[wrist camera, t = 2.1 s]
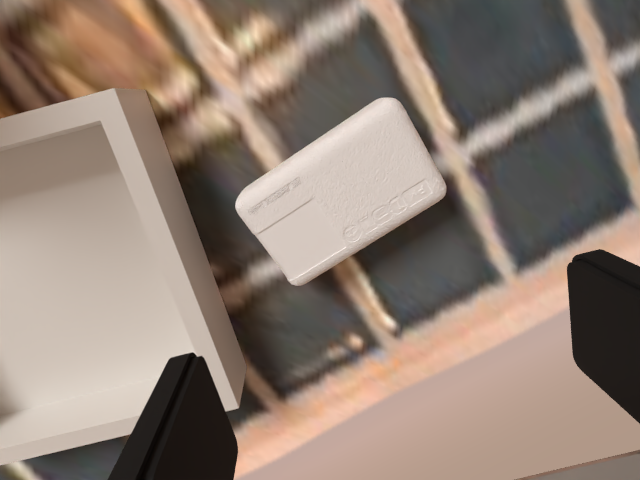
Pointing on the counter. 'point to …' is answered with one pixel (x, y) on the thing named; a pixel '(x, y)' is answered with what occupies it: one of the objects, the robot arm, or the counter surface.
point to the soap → (342, 191)
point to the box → (97, 275)
